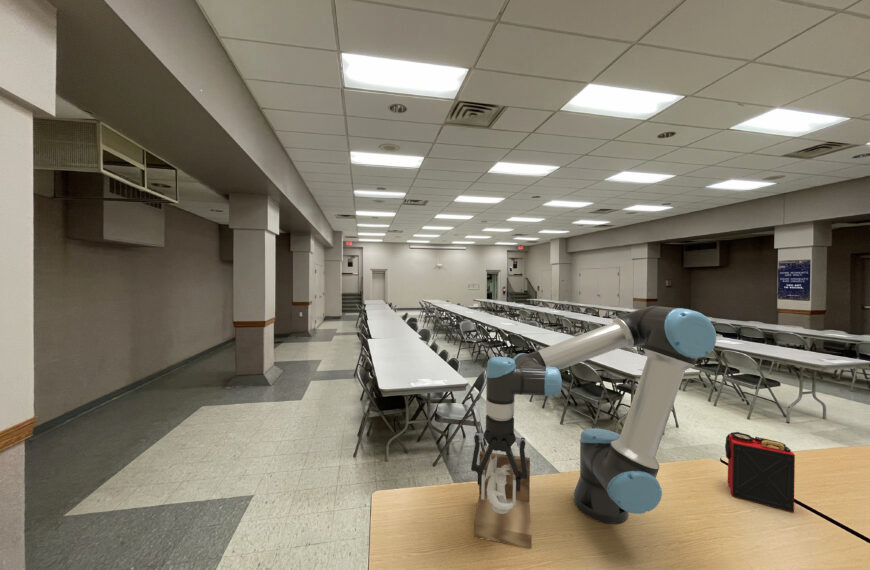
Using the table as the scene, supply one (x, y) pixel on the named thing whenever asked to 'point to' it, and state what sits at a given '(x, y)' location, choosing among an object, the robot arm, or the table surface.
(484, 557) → the table surface
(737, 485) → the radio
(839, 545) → the table surface
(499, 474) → the figurine
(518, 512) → the wall shelf
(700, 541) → the table surface
